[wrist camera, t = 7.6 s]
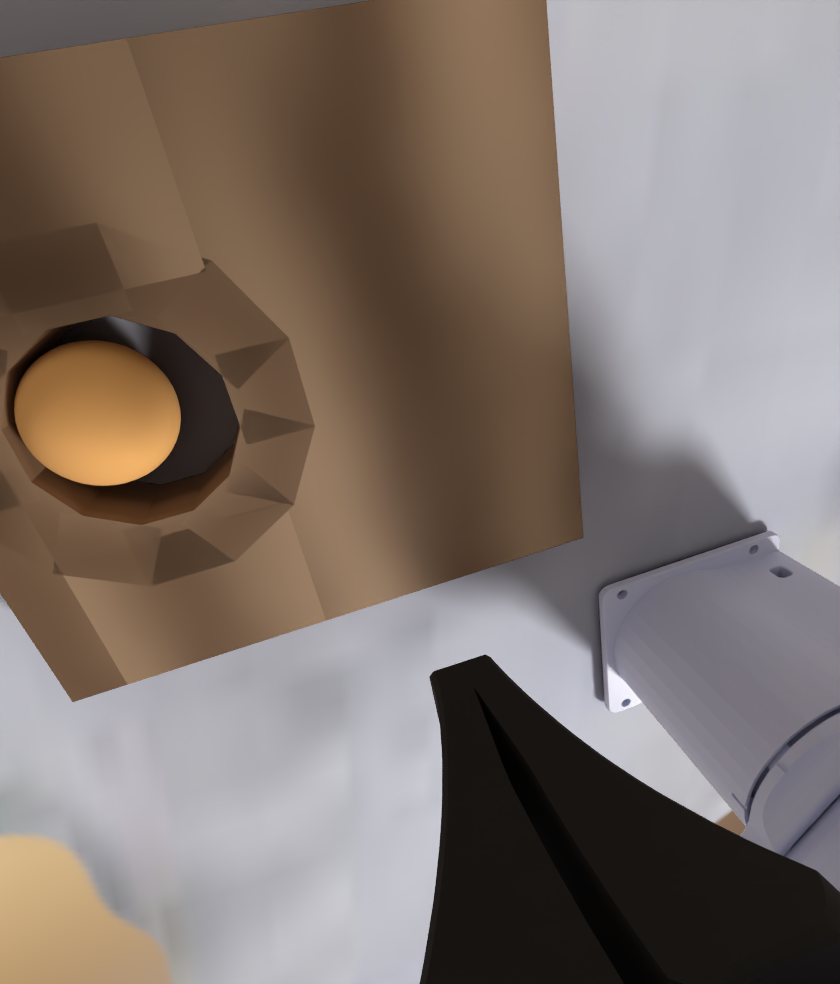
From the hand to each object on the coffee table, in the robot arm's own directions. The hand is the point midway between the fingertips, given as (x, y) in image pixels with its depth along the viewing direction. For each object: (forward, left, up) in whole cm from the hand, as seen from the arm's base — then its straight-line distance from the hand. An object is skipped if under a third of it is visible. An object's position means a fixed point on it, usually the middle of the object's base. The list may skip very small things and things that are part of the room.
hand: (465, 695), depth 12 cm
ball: (+7, -6, -8) cm, 12 cm away
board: (+2, -6, -10) cm, 12 cm away
